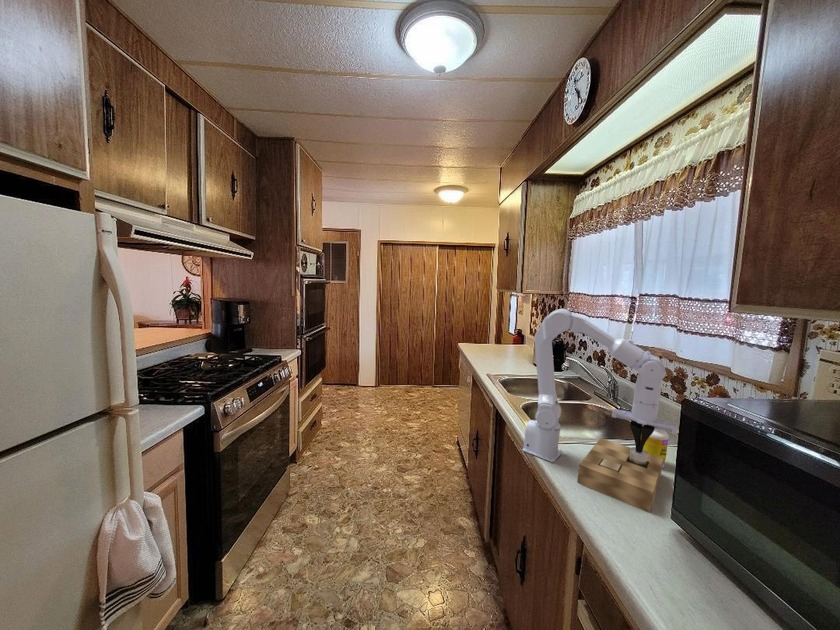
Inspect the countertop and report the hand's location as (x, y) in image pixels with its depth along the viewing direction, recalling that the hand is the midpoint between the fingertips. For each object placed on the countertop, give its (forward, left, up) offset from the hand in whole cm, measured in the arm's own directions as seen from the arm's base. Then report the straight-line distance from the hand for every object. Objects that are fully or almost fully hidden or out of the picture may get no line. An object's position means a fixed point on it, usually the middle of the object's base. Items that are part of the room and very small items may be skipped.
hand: (639, 450), depth 92 cm
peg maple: (-5, -8, -8) cm, 12 cm away
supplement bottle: (+2, +14, -8) cm, 16 cm away
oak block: (-3, -3, -8) cm, 9 cm away
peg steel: (0, 0, -5) cm, 5 cm away
